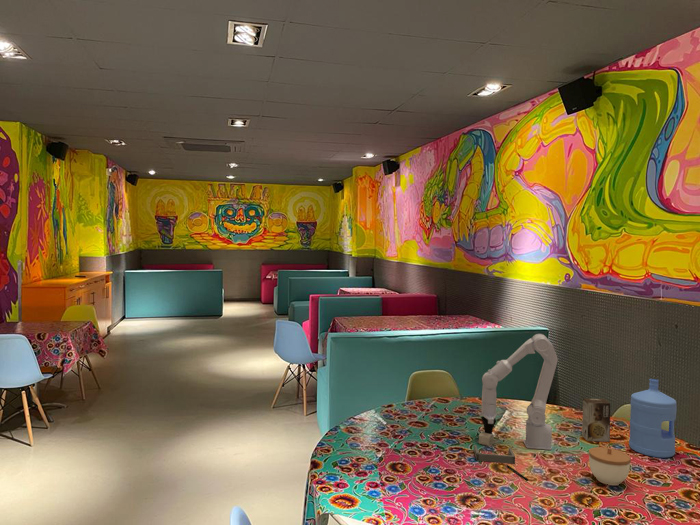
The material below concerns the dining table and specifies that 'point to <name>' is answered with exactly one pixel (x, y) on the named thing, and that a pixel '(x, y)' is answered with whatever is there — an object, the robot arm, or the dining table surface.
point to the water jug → (652, 422)
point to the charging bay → (495, 457)
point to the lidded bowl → (609, 465)
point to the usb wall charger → (486, 439)
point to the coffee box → (596, 420)
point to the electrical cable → (517, 473)
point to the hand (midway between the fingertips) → (488, 435)
